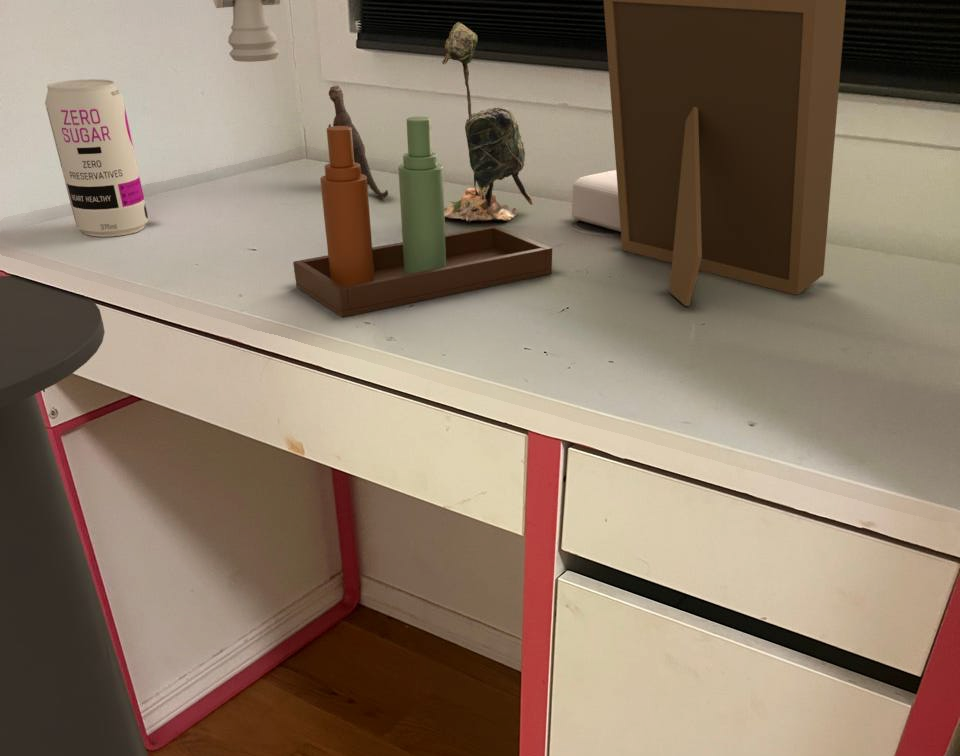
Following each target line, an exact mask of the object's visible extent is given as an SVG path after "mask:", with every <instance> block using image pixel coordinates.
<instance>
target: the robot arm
mask: <svg viewBox="0 0 960 756" xmlns="http://www.w3.org/2000/svg"><path fill="white" fill-rule="evenodd" d="M261 1H262V5H263V6H277V5H280V4H281V0H261ZM213 4H214V7H215V8H216V9H222V8H224V9H226V8H233V6H234V3H233V0H213Z"/></svg>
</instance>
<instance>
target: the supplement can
mask: <svg viewBox="0 0 960 756" xmlns="http://www.w3.org/2000/svg"><path fill="white" fill-rule="evenodd" d="M46 88H47V91H46V97H45V102H44V105H45V108H46V112H47V117H48V120H49V124H50V128H51V132H52V137H53V141H54V143H55V148H56V152H57V156H58V159H59V163H60V164H59V165H60V167H61V171H62V175H63V179H64V184H65V186H66V191H67V195H68V199H69V203H70V206H71V212H72V215H73V218H74V222H75V226H76V228H77V229H78V230H81V231H82V232H83V233H84V234H85V235H86V236H91V237H97V238H98V237H101V238H110V237H120V236H126V235H131V234H135V233H137V232H140V231H143V229H145V227H146V226H145V225H146V224H147V223H148V222H149V216H148V215H149V214H148V210H147V206H146V201H145V196H144V191H143V187H142V181H141V177H140V173H139V168H138V163H137V159H136V153H135V149H134V144H133V139H132V135H131V130H130V125H129V119H128V116H127V110H126V105H125V101H124V97H123V95H122V93H121V92H120V91H119V89H118V88H117V87H116V85H115V82H114V81H113V80H110V79H100V78H99V79H97V78H96V79H95V78H93V79H92V78H91V79H71V80H62V81H56V82H52V83H49V84H47V86H46Z"/></svg>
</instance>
